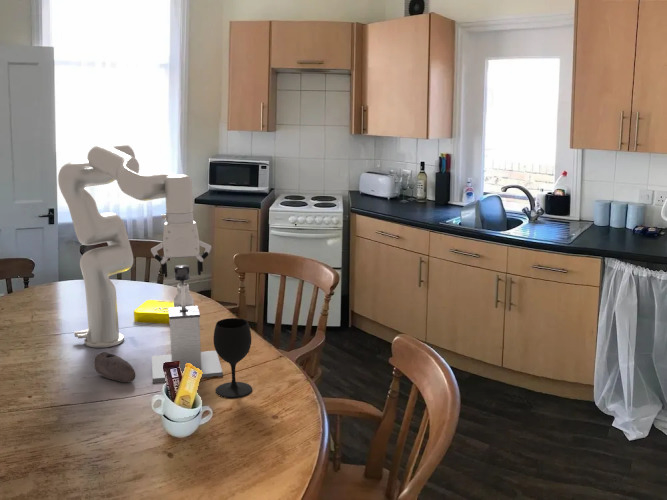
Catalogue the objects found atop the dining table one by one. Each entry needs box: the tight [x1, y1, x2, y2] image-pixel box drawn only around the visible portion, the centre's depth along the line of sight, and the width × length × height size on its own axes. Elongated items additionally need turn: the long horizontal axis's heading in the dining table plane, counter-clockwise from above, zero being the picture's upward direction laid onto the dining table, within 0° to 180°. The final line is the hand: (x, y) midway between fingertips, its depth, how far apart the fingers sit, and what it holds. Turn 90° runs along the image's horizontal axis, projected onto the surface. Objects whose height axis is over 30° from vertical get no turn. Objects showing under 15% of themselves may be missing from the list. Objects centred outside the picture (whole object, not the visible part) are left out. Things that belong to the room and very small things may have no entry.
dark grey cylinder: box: [173, 264, 191, 312], centre depth 218 cm, size 4×4×20 cm
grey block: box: [168, 305, 202, 370], centre depth 222 cm, size 9×12×17 cm
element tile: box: [133, 299, 174, 325], centre depth 269 cm, size 15×15×5 cm
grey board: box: [151, 350, 223, 383], centre depth 223 cm, size 20×18×1 cm
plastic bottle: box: [172, 283, 195, 307], centre depth 240 cm, size 6×7×20 cm
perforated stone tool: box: [94, 351, 137, 383], centre depth 213 cm, size 15×5×7 cm, turn 56°
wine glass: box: [213, 317, 253, 399], centre depth 204 cm, size 10×10×20 cm
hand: (182, 275), depth 216 cm, fingers open, 9 cm apart
